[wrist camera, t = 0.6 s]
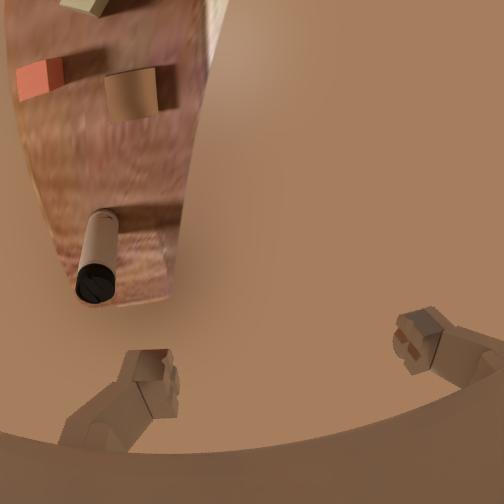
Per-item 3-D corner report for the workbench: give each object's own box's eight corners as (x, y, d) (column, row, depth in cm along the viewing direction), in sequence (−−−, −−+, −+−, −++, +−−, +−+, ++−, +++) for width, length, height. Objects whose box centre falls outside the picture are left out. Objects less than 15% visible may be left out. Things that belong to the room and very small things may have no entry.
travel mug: (109, 201, 53) (99, 269, 38) (124, 228, 58) (122, 300, 43) (82, 214, 53) (65, 285, 38) (98, 240, 57) (89, 313, 42)
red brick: (38, 92, 36) (19, 101, 30) (35, 65, 33) (15, 69, 27) (64, 84, 38) (49, 91, 31) (62, 57, 35) (45, 59, 28)
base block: (112, 119, 45) (109, 124, 42) (107, 75, 40) (103, 77, 37) (158, 110, 47) (158, 115, 44) (154, 66, 42) (154, 67, 39)
